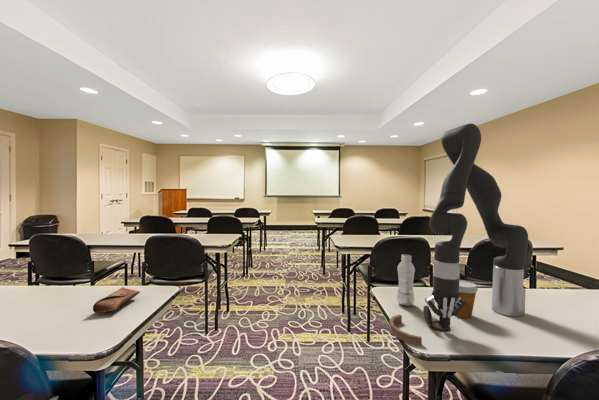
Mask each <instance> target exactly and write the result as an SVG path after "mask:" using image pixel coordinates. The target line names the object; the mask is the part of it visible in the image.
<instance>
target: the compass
mask: <svg viewBox="0 0 599 400" xmlns="http://www.w3.org/2000/svg"><path fill="white" fill-rule="evenodd" d="M422 311H423V316H424V320H425V322H426V324H427V326H429V327H430V328H431V329H432V330H434V331H438V332H449V331H451V326H450V327H449V329H443V328H442V327H441V326H440V324H439V320H438V319H437V318H435V319H434V318H432V317H433V316H432V312H431V308H430V307H429V305H424V306H423V309H422Z"/></svg>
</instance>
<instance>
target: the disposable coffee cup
mask: <svg viewBox="0 0 599 400" xmlns="http://www.w3.org/2000/svg"><path fill="white" fill-rule="evenodd" d="M478 289H479V288H478V287H477V284H476V283H474V282H472V281H468V280H463V279H460V282H459V291H458V293H459V295H460V296H459V297H460V298H461V299H463V300H465V301H466V304H465V305H464V306H463V308H462V309H461V310H460V312H459V313H458V314H457V315H456V316H455V317H456V318H458V319H465V320H469V319H471V318H472V316H473V311H474V305H475V301H476V300H475V299H476V294H477V291H478Z"/></svg>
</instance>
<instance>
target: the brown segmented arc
mask: <svg viewBox="0 0 599 400" xmlns="http://www.w3.org/2000/svg"><path fill="white" fill-rule="evenodd" d="M402 319H403V316H402V314H396V315H394V316H392V317H391V318H390V319H389V322H388V323H389V327H388V328H389V331H390V334H391V335H393V336H394V337H395V338H396V339H398V340H400V341H403V342H405V343H408V344H411V345H416V346H422V343H423V342H422V339H423V338H422V337H423V336H420V335H415V334H410V333H407V332H406V331H403V330H400V329H399V328H398V327H397V325H399V324H401V323H403V322H402V321H403V320H402Z"/></svg>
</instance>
